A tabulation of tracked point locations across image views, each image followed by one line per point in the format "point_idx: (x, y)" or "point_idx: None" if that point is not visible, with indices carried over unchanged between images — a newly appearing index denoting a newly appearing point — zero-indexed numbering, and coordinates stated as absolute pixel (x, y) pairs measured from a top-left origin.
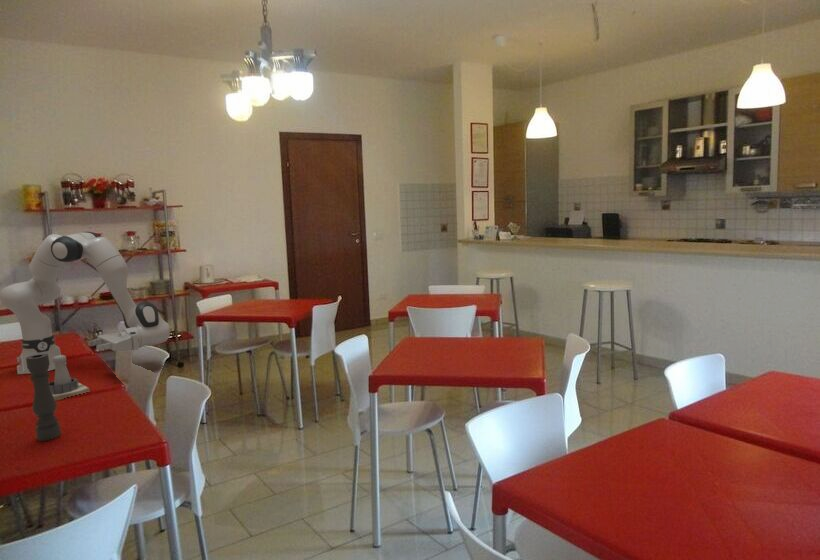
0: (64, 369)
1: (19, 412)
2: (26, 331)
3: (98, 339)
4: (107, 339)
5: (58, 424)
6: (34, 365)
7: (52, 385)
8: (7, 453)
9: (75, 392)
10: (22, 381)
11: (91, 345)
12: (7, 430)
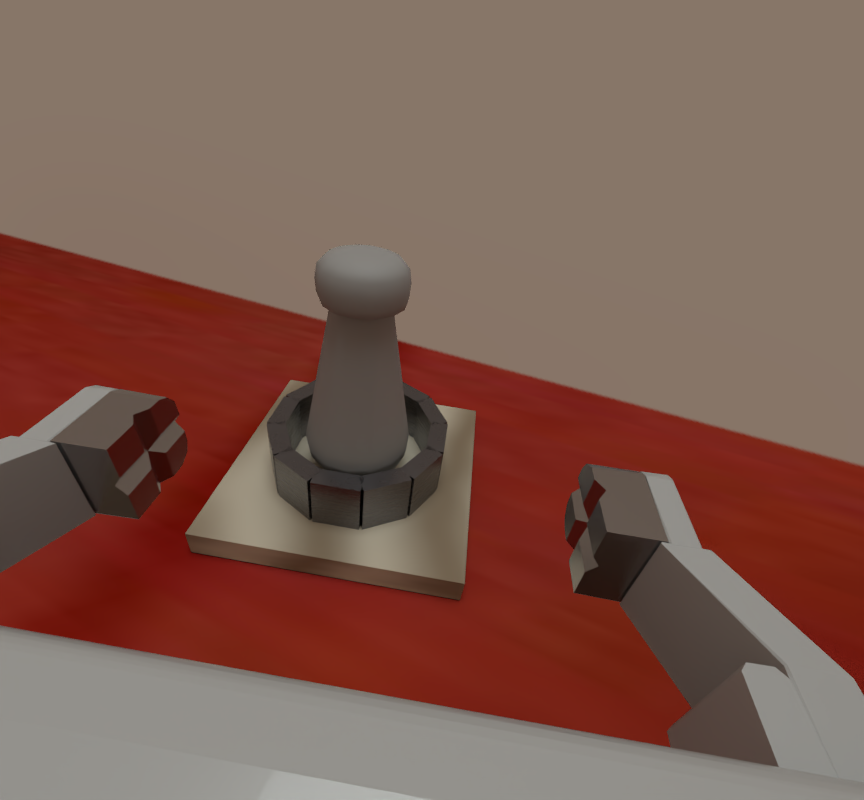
0: (323, 354)
1: (297, 334)
2: None
3: (748, 696)
4: (57, 676)
5: None
6: None
7: (418, 422)
8: (4, 235)
9: (232, 470)
10: (849, 502)
11: (573, 538)
12: (165, 278)
